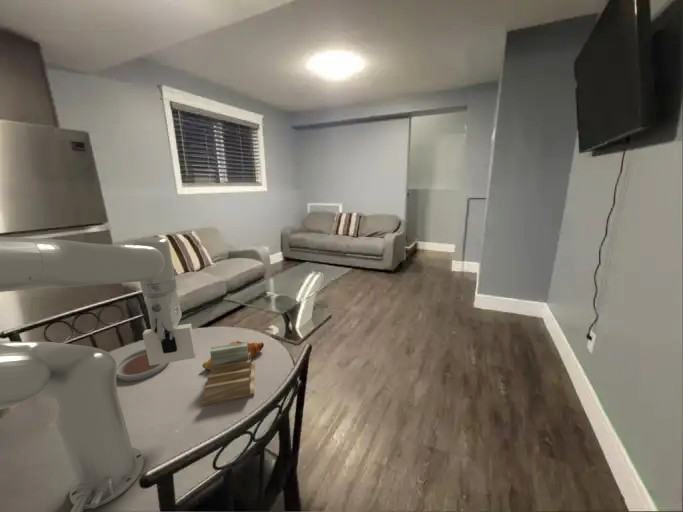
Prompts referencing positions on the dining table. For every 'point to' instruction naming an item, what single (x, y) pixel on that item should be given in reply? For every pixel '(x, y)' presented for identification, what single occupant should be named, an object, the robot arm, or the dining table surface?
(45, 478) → the dining table surface
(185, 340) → the white rectangular slab
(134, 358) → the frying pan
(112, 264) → the robot arm
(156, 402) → the dining table surface
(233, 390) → the rack
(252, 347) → the croissant
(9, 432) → the dining table surface
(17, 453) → the dining table surface
